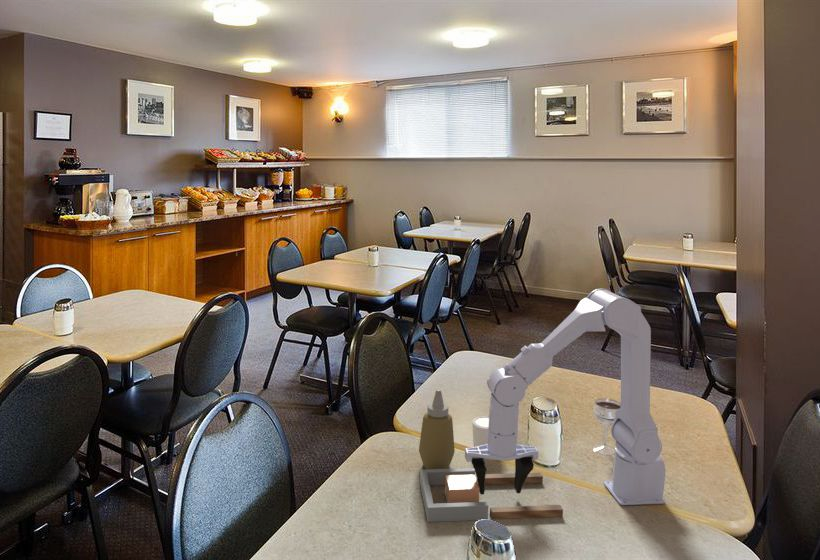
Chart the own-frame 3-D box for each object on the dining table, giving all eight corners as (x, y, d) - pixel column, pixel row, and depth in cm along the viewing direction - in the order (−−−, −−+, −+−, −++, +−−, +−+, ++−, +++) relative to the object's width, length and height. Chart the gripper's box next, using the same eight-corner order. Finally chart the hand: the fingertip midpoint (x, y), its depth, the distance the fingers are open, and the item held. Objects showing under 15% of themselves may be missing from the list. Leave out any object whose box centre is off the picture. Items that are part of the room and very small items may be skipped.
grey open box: (473, 480, 112) (473, 467, 111) (487, 519, 99) (488, 505, 99) (419, 482, 111) (420, 469, 110) (427, 521, 98) (427, 507, 97)
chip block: (473, 492, 108) (474, 474, 107) (478, 506, 103) (479, 488, 102) (444, 493, 107) (445, 475, 107) (448, 508, 102) (449, 489, 102)
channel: (540, 478, 113) (540, 472, 113) (562, 516, 101) (563, 509, 100) (477, 480, 112) (477, 474, 112) (491, 519, 99) (492, 512, 99)
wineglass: (586, 442, 130) (590, 397, 128) (614, 444, 129) (619, 398, 127) (593, 456, 123) (597, 408, 121) (622, 458, 123) (627, 410, 120)
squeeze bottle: (455, 476, 114) (458, 398, 110) (418, 475, 114) (420, 397, 110) (452, 456, 122) (455, 384, 118) (418, 456, 122) (420, 383, 118)
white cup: (499, 457, 122) (500, 430, 120) (469, 454, 123) (471, 426, 122) (500, 443, 128) (501, 417, 127) (472, 440, 130) (473, 414, 128)
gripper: (532, 419, 108) (527, 479, 110) (463, 420, 106) (460, 481, 109) (543, 435, 101) (538, 498, 103) (470, 437, 99) (467, 501, 102)
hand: (499, 491), depth 106 cm, fingers open, 7 cm apart
